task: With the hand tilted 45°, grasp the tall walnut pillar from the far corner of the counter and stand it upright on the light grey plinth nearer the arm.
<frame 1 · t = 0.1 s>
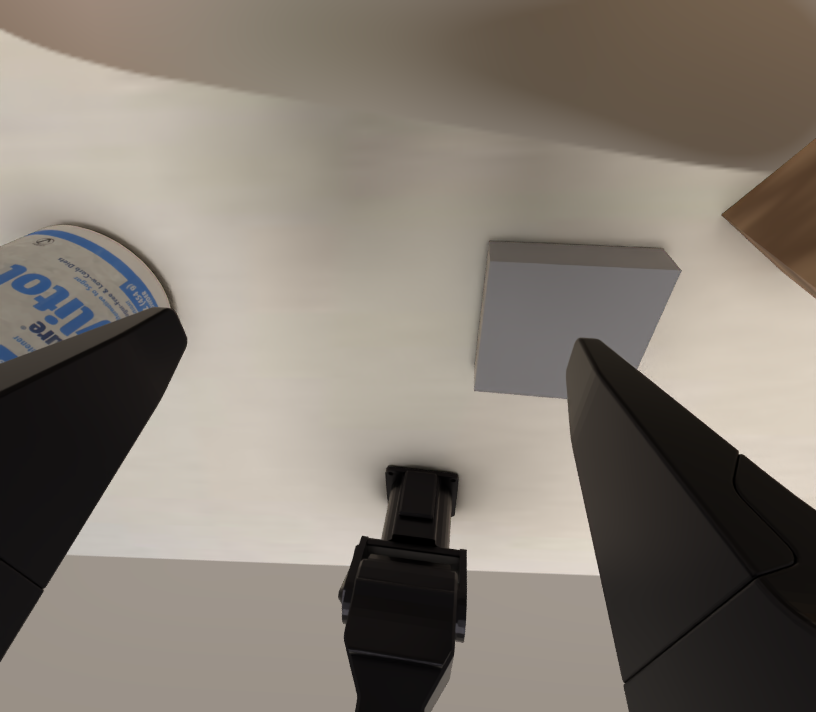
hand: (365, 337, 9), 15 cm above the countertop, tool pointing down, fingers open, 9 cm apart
walnut pillar: (807, 203, 19), on the countertop
supplement tub: (110, 285, 28), on the countertop
light grey plinth: (556, 315, 25), on the countertop
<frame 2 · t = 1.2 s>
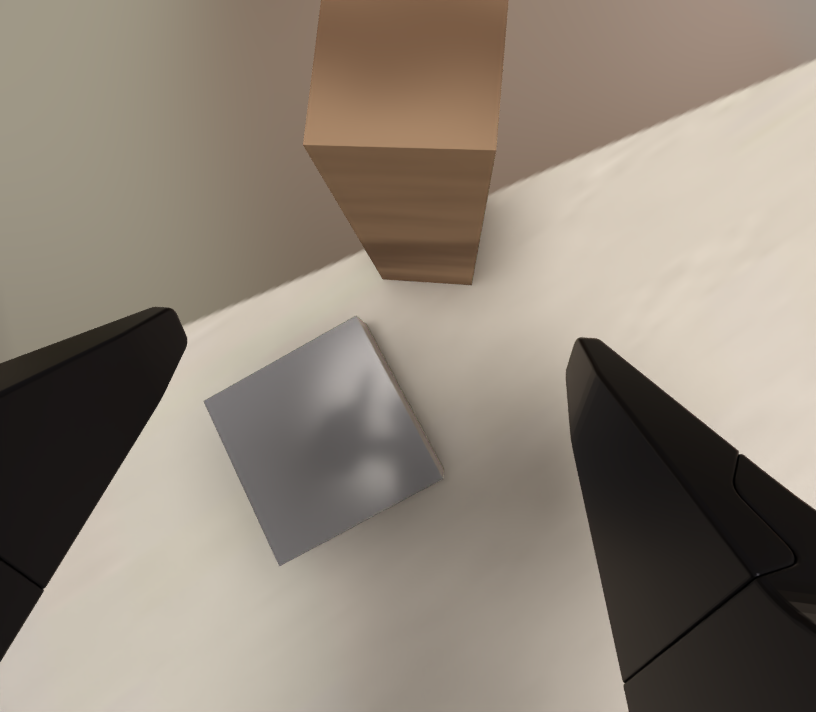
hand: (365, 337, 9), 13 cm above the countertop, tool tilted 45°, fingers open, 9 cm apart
walnut pillar: (430, 238, 23), on the countertop
light grey plinth: (333, 433, 22), on the countertop
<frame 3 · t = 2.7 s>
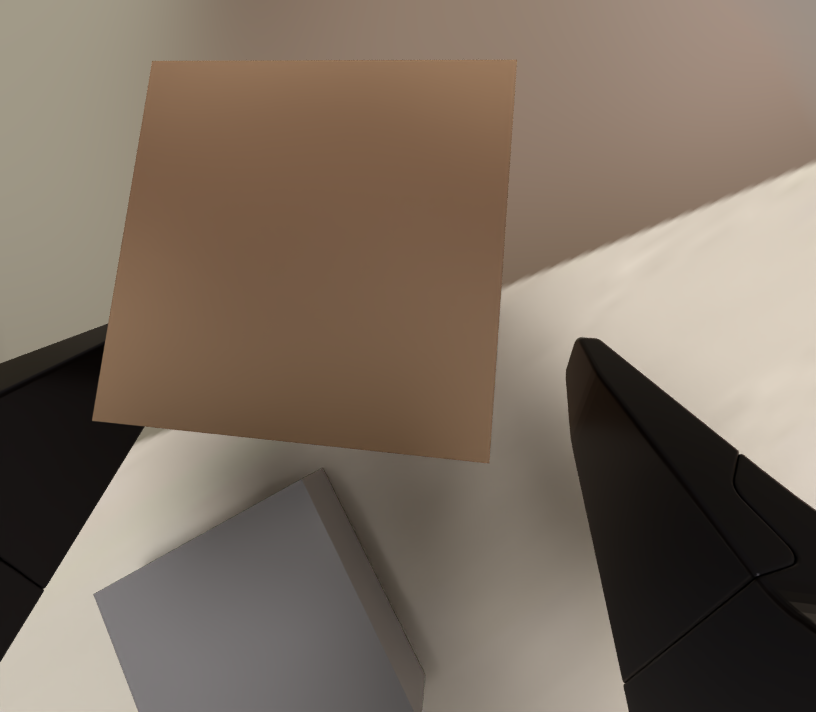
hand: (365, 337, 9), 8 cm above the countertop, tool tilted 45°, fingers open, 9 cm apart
walnut pillar: (407, 354, 18), on the countertop
light grey plinth: (277, 618, 17), on the countertop
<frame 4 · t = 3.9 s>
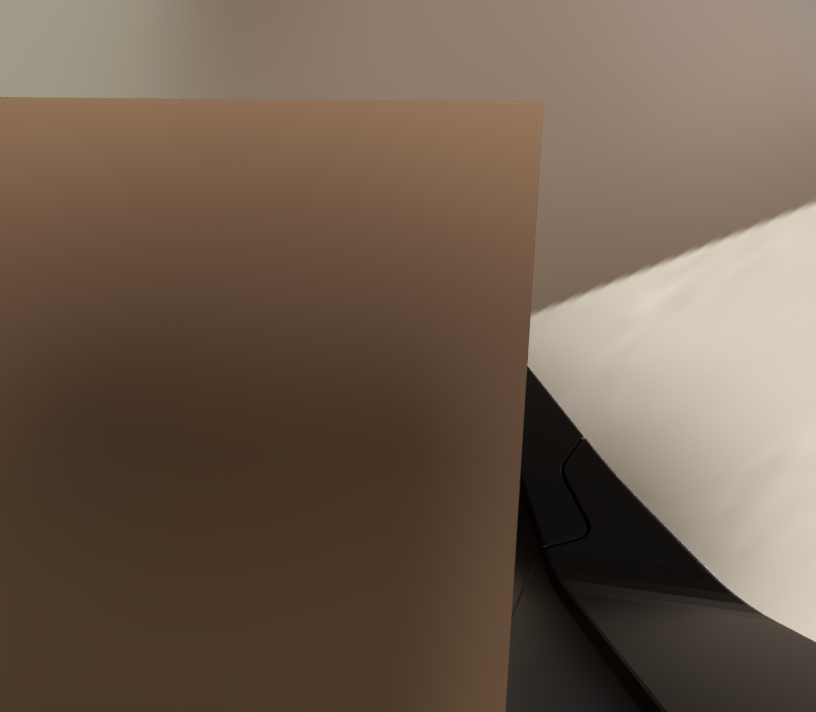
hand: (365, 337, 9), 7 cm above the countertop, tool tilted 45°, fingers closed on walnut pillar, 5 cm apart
walnut pillar: (397, 399, 15), on the countertop, touching gripper
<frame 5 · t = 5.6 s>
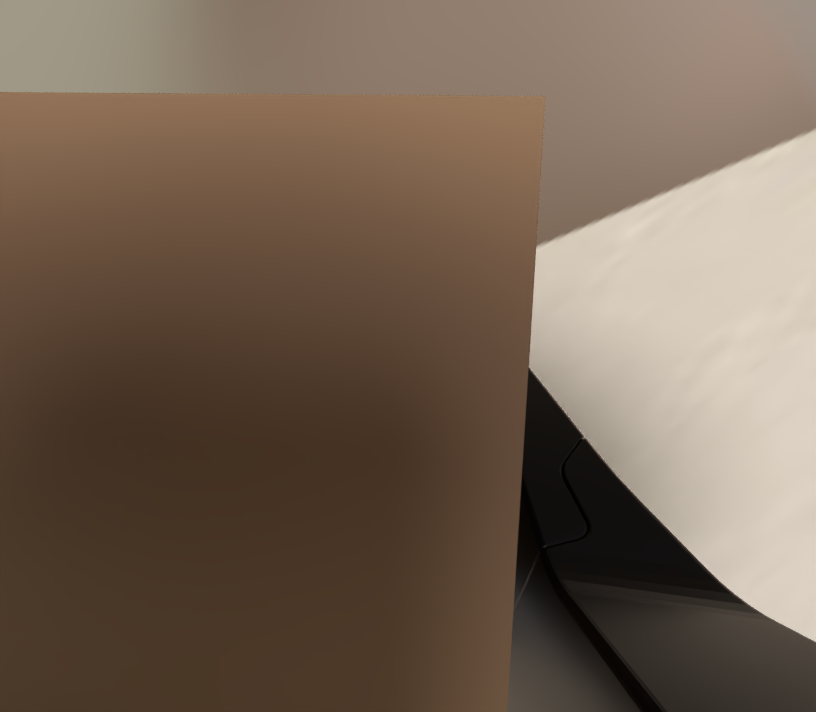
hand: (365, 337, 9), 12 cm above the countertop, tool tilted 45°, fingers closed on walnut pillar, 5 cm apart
walnut pillar: (398, 398, 15), point 5 cm above the countertop, touching gripper
when the fingers open (10 cm above the countertop, at t = 7.1 s): walnut pillar stays where it is, resting on light grey plinth.
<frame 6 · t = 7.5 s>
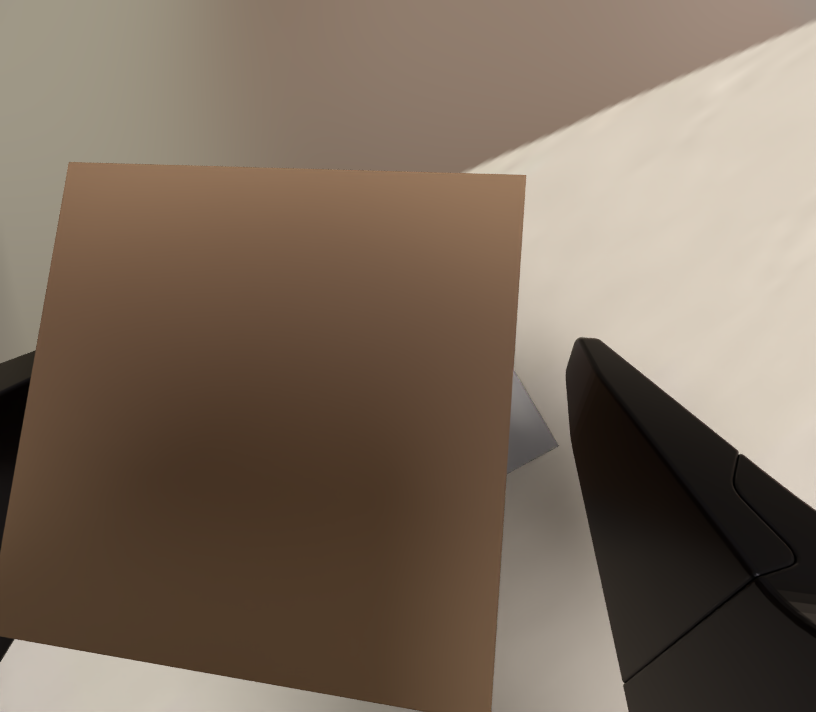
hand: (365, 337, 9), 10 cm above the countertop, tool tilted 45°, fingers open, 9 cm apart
walnut pillar: (401, 400, 16), point 2 cm above the countertop, touching light grey plinth
light grey plinth: (407, 399, 19), on the countertop
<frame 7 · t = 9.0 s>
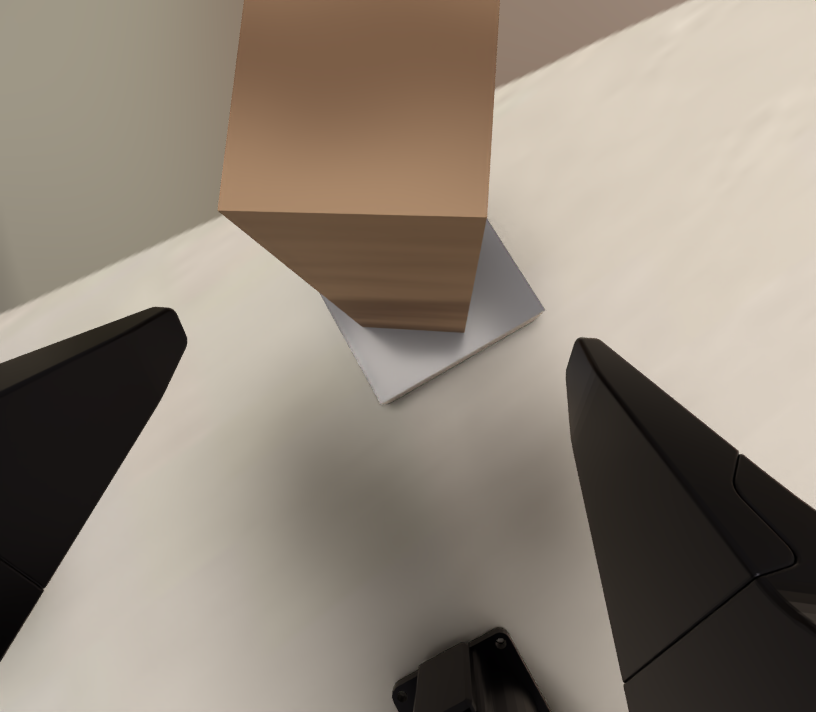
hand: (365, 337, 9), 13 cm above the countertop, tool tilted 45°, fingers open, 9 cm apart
walnut pillar: (416, 279, 20), point 2 cm above the countertop, touching light grey plinth
light grey plinth: (419, 292, 22), on the countertop
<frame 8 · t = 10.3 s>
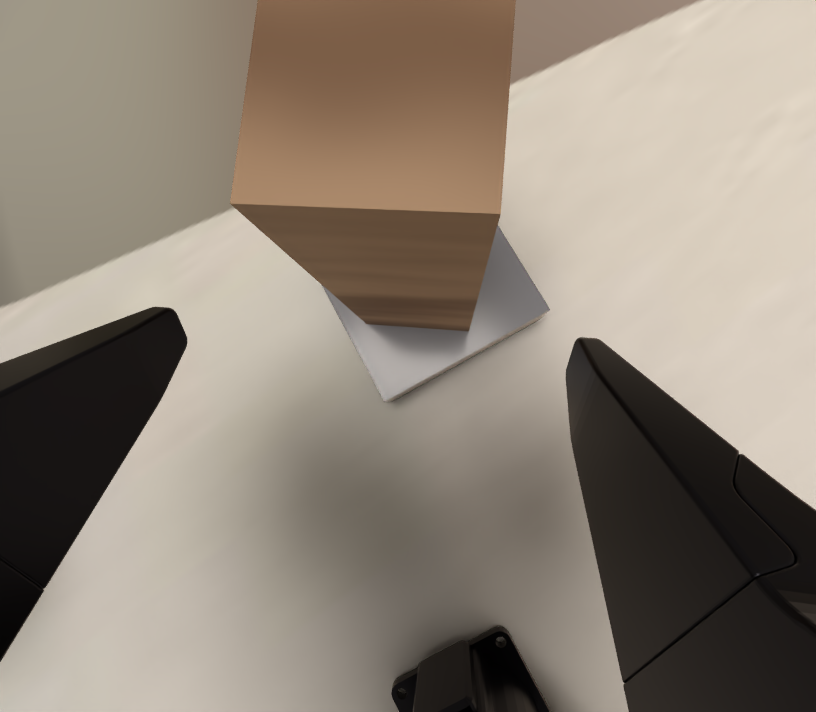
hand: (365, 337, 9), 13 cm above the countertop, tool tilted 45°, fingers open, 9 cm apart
walnut pillar: (421, 277, 20), point 2 cm above the countertop, touching light grey plinth
light grey plinth: (424, 290, 22), on the countertop
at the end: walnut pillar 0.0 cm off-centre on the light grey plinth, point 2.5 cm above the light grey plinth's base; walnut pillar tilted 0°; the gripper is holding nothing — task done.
